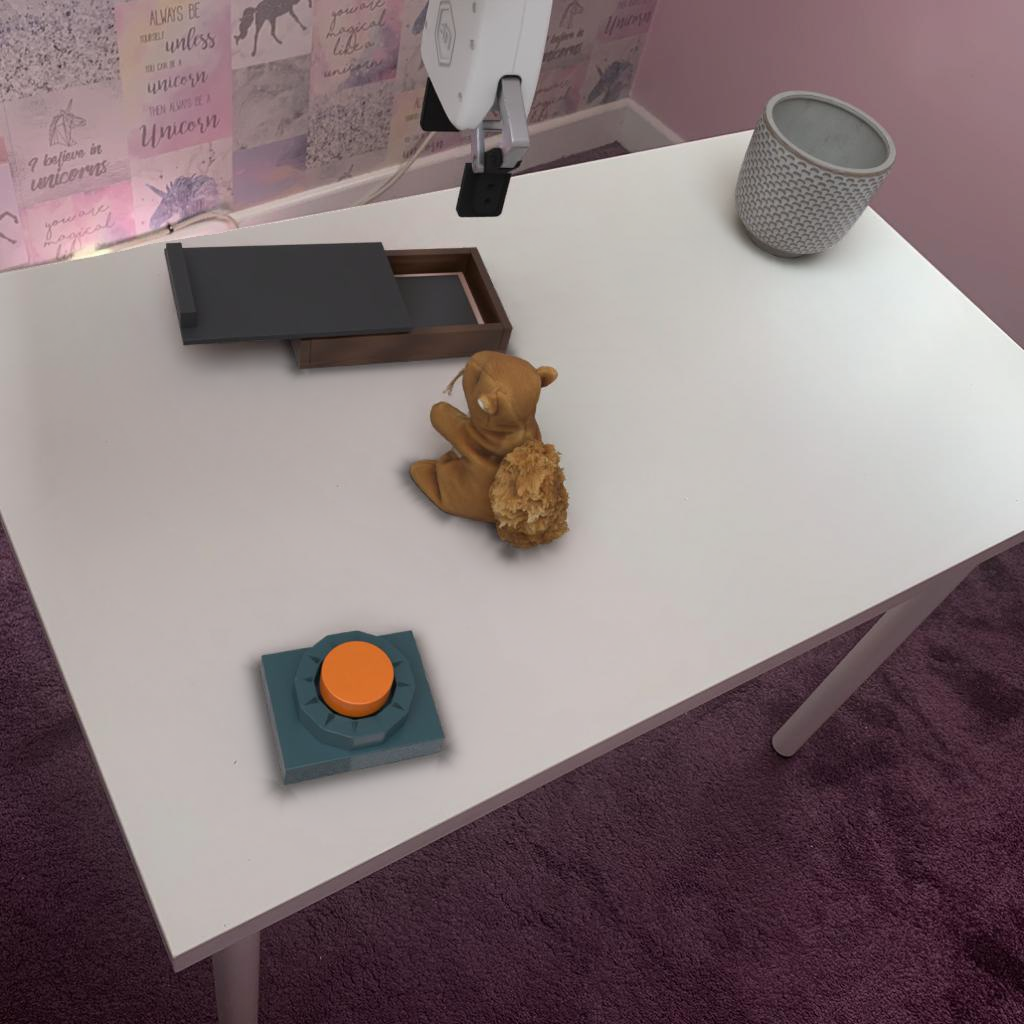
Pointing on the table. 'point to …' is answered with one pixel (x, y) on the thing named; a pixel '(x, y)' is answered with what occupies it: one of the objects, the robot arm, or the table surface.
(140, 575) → the table surface
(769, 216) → the planter
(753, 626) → the table surface
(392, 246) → the table surface
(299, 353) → the wooden box
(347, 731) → the dark teal square block
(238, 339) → the lid
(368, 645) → the button
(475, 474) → the stuffed squirrel
